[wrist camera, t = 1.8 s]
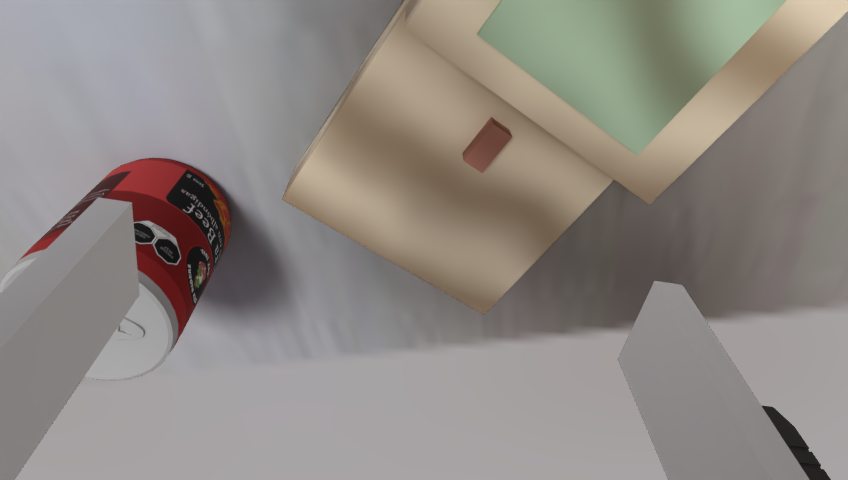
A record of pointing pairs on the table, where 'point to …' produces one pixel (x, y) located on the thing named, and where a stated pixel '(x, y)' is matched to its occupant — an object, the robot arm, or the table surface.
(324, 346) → the table surface
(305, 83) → the table surface
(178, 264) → the canned food
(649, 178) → the stand
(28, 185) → the table surface
